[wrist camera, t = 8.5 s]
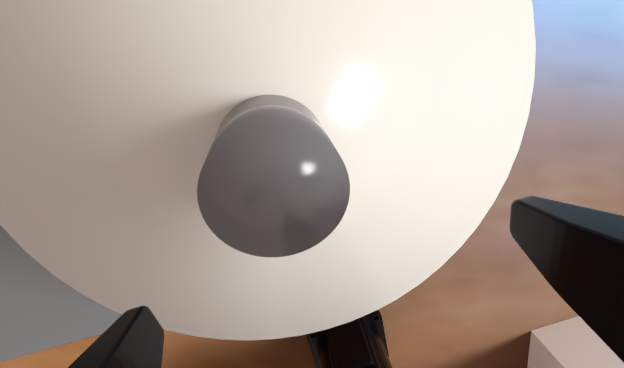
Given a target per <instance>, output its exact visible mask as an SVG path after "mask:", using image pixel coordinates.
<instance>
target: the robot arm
mask: <svg viewBox="0 0 624 368" xmlns="http://www.w3.org/2000/svg"><path fill="white" fill-rule="evenodd" d="M510 232H511V235H512V236H513V238H514V239H515V241H516V242H517V243H518V244H519V246H520V247H521V248H522V250H523V251H524V252H525V253H526V255H527V256H528V257H529V258H530V260H531V261H532V262H533V264H534V265H535V266H536V267H537V269H538V270H539V271H540V272H541V274H542V275H543V276H544V278H545V279H546V280H547V281H548V283H549V284H550V285H551V286H552V287H553V288H554V290H555V291H556V292H557V293H558V294H559V295H560V296H561V297H562V298H563V300H564V301H565V302H566V303H567V304H568V305H569V306H570V307H571V308H572V309H573V310H574V311H575V312H576V313H577V314H578V315H579V316H580V317H581V318H582V320H583V321H584V322H585V323H586V324H587V325H588V326H589V327H590V328H591V329H592V330H593V331H594V332H595V333H596V334H597V335H598V336H599V337H600V338H601V339H602V341H603V342H604V343H605V344H606V345H607V346H608V347H609V348H610V349H611V350H612V351H613V352H614V353H615V354H616V355H617V356H618V357H619V358H620V359H621V360H622V361H623V363H624V216H621V215H617V214H612V213H608V212H603V211H598V210H594V209H589V208H585V207H580V206H576V205H571V204H567V203H562V202H558V201H553V200H548V199H544V198H539V197H535V196H527V197H523V198H520V199H516V200H514V201H513V202H512V204H511V214H510ZM307 338H308V341H309V344H310V346H311V349H312V352H313V355H314V358H315V360H316V363H317V366H318V368H392V366H391V363H390V360H389V358H388V357H389V356H388V350H387V344H386V339H385V333H384V327H383V322H382V316H381V314H380V312H379V311H378V310H376V311H374V312H372V313H370V314H367V315H365V316H363V317H360V318H358V319H356V320H353V321H351V322H348V323H345V324H342V325H339V326H336V327H333V328H330V329H326V330H322V331H318V332H314V333H309V334H307ZM163 344H164V331H163V328H162V326H161V325H160V323H159V322H158V320H157V319H156V317H155V316H154V314H153V313H152V311H151V310H150V309H149V307H147V306H139V307H135V308H132V309H129V310H127V311H125V312H124V313H123V314H122V315H121V316H120V317H119V318H118V319H117V320H116V321H115V322H114V323H113V324H112V325H111V326H110V327H109V328H108V329H107V330H106V331H105V332H104V333H103V334H102V335H101V336H100V337H99V338H98V339H97V340H96V341H95V342H94V343H93V344H92V345H91V346H90V347H89V348H88V349H87V350H86V351H84V352H83V353H82V354H81V355H80V356H79V357H78V358H77V359H76V360H75V361H74V362H73V363H72V364H71V365H70V366H69V367H68V368H161V363H162V354H163Z"/></svg>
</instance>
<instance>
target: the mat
mask: <svg viewBox="0 0 624 368" xmlns="http://www.w3.org/2000/svg"><path fill="white" fill-rule="evenodd" d="M121 315H122V314H120V313H118V312H115V311H113V310H110V309H108V308H106V307H105V306H103V305H101V304H99V303H97V302H95V301H94V300H92V299H90V298H88V297H86V296H84V295H82V294H81V293H79V292H78V291H76V290H75V289H73V288H72V287H70V286H69V285H67V284H66V283H64V282H63V281H62V280H60V279H59V278H57V277H56V276H54V275H53V274H51V273H50V272H49V271H48V270H47V269H46V268H44V267H43V266H42V265H41V264H40V263H38V262H37V261H36V260H35V259H34V258H33V257H31V256H30V255H29V254H28V253H27V252H25V251H24V249H23V248H22V247H21V246H20V245H19V244H18V243H17V242H16V241H15V240H14V239H13V238H12V237H11V236H10V235H9V234H8V233H7V232H6V231H5V229H4V228H3V227H2V226H1V225H0V362H2V361H6V360H10V359H13V358H17V357H21V356H24V355H28V354H31V353H35V352H39V351H42V350H46V349H49V348H53V347H57V346H60V345H64V344H67V343H71V342H75V341H78V340H82V339H86V338H89V337H93V336H96V335H100V334H103V333H104V332H105V331H106V330H107V329H108V328H109V327H110V326H111V325H112V324H113V323H114V322H115V321H116V320H117V319H118V318H119V317H120V316H121Z"/></svg>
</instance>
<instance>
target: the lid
mask: <svg viewBox="0 0 624 368" xmlns="http://www.w3.org/2000/svg"><path fill="white" fill-rule="evenodd" d="M535 49H536V42H535V29H534V17H533V5H532V0H0V225H1V226H2V227H3V228H4V229H5V231H6V232H7V233H8V234H9V235H10V236H11V237H12V238H13V239H14V240H15V241H16V242H17V243H18V244H19V245H20V246H21V247H22V248H23V249H24V251H25V252H27V253H28V254H29V255H30V256H31V257H33V258H34V259H35V260H36V261H37V262H38V263H40V264H41V265H42V266H43V267H44V268H46V269H47V270H48V271H49V272H50V273H51V274H53V275H54V276H56V277H57V278H59V279H60V280H62V281H63V282H64V283H66V284H67V285H69V286H70V287H72V288H73V289H75V290H76V291H78V292H79V293H81V294H82V295H84V296H86V297H88V298H90V299H92V300H94V301H95V302H97V303H99V304H101V305H103V306H105V307H106V308H108V309H110V310H113V311H115V312H118V313H120V314H123V313H124V312H125V311H127V310H129V309H132V308H135V307H139V306H147V307H149V309H150V310H151V311H152V313H153V314H154V316H155V317H156V319H157V320H158V322H159V323H160V325H161V326H162V328H163V329H165V330H168V331H173V332H178V333H182V334H187V335H192V336H197V337H205V338H214V339H222V340H267V339H280V338H286V337H293V336H300V335H305V334H309V333H314V332H318V331H322V330H326V329H330V328H333V327H336V326H339V325H342V324H345V323H348V322H351V321H353V320H356V319H358V318H360V317H363V316H365V315H367V314H370V313H372V312H374V311H376V310H378V309H380V308H382V307H384V306H385V305H387V304H389V303H391V302H393V301H395V300H396V299H398V298H400V297H401V296H403V295H404V294H406V293H407V292H409V291H410V290H412V289H413V288H415V287H416V286H418V285H419V284H420V283H422V282H423V281H424V280H425V279H427V278H428V277H429V276H430V275H431V274H433V273H434V272H435V271H436V270H438V269H439V268H440V267H441V266H442V265H443V264H444V263H445V262H446V261H447V260H448V259H449V258H450V257H451V256H452V255H453V254H454V253H455V252H456V251H457V250H458V249H459V248H460V247H461V246H462V245H463V244H464V242H465V241H466V240H467V239H468V238H469V236H470V235H471V234H472V233H473V232H474V230H475V229H476V228H477V227H478V225H479V224H480V222H481V221H482V219H483V218H484V216H485V215H486V213H487V212H488V210H489V209H490V208H491V206H492V205H493V203H494V201H495V199H496V198H497V196H498V194H499V192H500V190H501V188H502V186H503V184H504V183H505V181H506V179H507V177H508V175H509V172H510V170H511V167H512V165H513V162H514V160H515V157H516V155H517V152H518V150H519V148H520V144H521V141H522V137H523V133H524V130H525V126H526V123H527V119H528V116H529V110H530V104H531V97H532V91H533V85H534V73H535Z"/></svg>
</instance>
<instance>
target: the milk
mask: <svg viewBox="0 0 624 368" xmlns="http://www.w3.org/2000/svg"><path fill="white" fill-rule="evenodd" d="M527 368H624V363H623V361H622V360H621V359H620V358H619V357H618V356H617V355H616V354H615V353H614V352H613V351H612V350H611V349H610V348H609V347H608V346H607V345H606V344H605V343H604V342H603V341H602V339H601V338H600V337H599V336H598V335H597V334H596V333H595V332H594V331H593V330H592V329H591V328H590V327H589V326H588V325H587V324H586V323H585V322H584V321H583V320H582V318H581V317H580V316H577V317H574V318H571V319H568V320H564V321H561V322H558V323H555V324H551V325H548V326H545V327H542V328H538V329H535V330H532V331H531V338H530V347H529V356H528V365H527Z"/></svg>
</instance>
